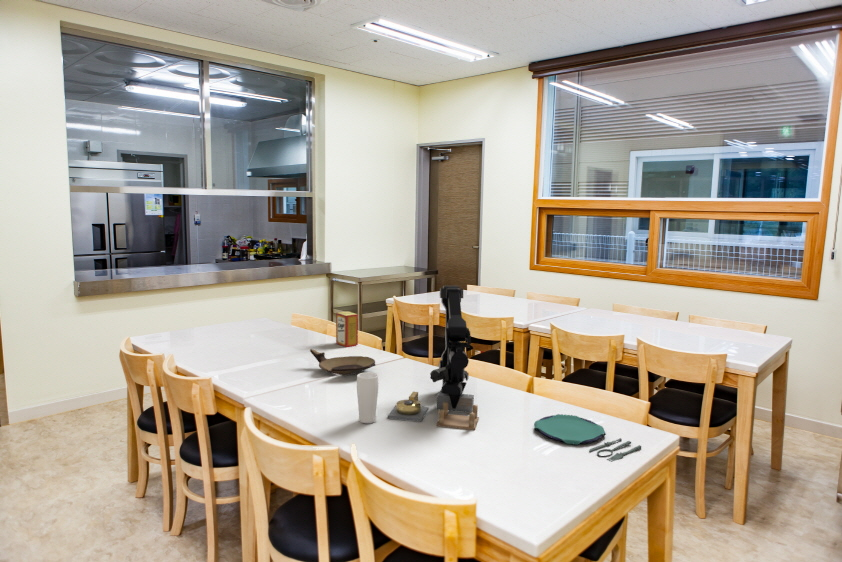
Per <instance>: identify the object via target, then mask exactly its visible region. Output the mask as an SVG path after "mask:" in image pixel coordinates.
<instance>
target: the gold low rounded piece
mask: <svg viewBox="0 0 842 562" xmlns="http://www.w3.org/2000/svg"><path fill="white" fill-rule="evenodd" d="M396 405H397V407H396V410H397V412H398V413H401V414H406V415H412V414H417V413H419V412H420V411H421V406H422V403H421V402H420V401H419V391H412V393H410V394H409V396H408V399H401V400H399V401H397V402H396Z"/></svg>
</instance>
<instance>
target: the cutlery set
mask: <svg viewBox="0 0 842 562" xmlns="http://www.w3.org/2000/svg"><path fill="white" fill-rule="evenodd" d="M533 426H534V430H535V431H536V429H537V430H538V432H540V433H541V434H542V435H544V436H545V437H548V438H550V439H553V440H556V441H560V442H561V441H562V442H564V443H565V444H566V445H575V446H579V445H580V444H583V443H585V444H586V443H591V442H596V441H598V440H599V439H601V438H602V437H603V436H606V435H607V433H606V431H605V428H604V427H603V426H602V425H600V424H597V423H596V422H594V421H592V420H589V419H587V418H583V417H579V416H578V415H573V414H562V413H561V414H559V413H558V414H555V415H553V414H552V415H548V416H545V417H542V418H540V419H537V420H536V421H534V423H533ZM619 441H622V438H621V437H620V438H617V439H616V440H612V441H606V442H604V444H601V445H598V446H597V445H596V446H594V447H591V448H590V449H589V450H588V452H589V453H592V452H595V451H597V450H598V451H597V452H596V455H597V456H600V453H603V452H609V454H606V455H605V457H608V458H607V459H606V460H607V461H609V462H615V461H617V460H621V459H623V457H624V456H626V455H630V454H632V453H634V452H636V451H639V450H641V449H642V445H637V446H635V447H633V448H631V449H630V450H629V449H628V450H627V451H623V452H616V453H615V454H614V455H612V454H613V453H614V452H613V451H616V450H618V449H620V448H622V447H625V446H629V445H631V444H632V441H630V440H628V441H626V442H623V443H621V444H619V445H617V446H616V447H614V448H612V449H610V448H604V447H608V446H611V445H612V444H614V443H616V442H619ZM602 448H604V449H602ZM611 455H612V456H611ZM609 456H611V457H609Z"/></svg>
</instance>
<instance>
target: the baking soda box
mask: <svg viewBox="0 0 842 562" xmlns="http://www.w3.org/2000/svg"><path fill="white" fill-rule="evenodd" d="M358 315H359V314H358V313H356V312H355V313H354V312H352V311H347V310H346V311H341V312H339V311H338V312H336V313H335V321H336V322H335V337H336V338H335V341H336V342H335V344H336V345H339V346H341V347H344V348H352V347H357V346H356V345H359V337H358V336H359V335H358V333H359V328H358V327H359V316H358Z"/></svg>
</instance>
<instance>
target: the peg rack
mask: <svg viewBox="0 0 842 562" xmlns="http://www.w3.org/2000/svg"><path fill="white" fill-rule="evenodd" d="M478 407H479V406H478V405H477V404H474V405H473V411H472V413H468V414H469V415H464V414H463V415H461V414H452V413H449V411H448V402H443V410H438V420H437V423H436V426H437V427H443V428H450V429H451V428H453V429H462V430H471V431H475V430H476V428H477V426H478V423H479V420H480V417H479V416H478V411H479V410H478V409H479V408H478Z"/></svg>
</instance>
